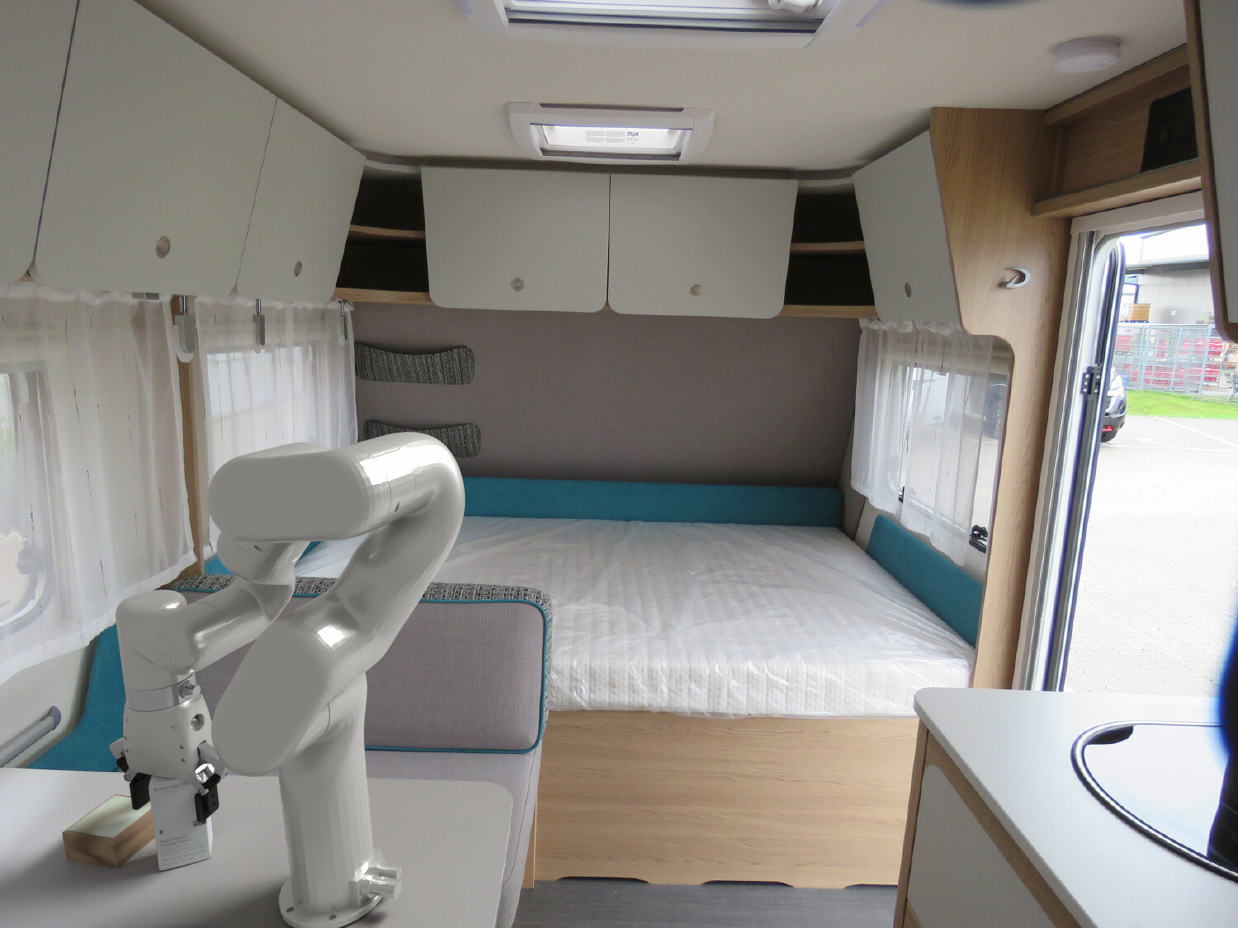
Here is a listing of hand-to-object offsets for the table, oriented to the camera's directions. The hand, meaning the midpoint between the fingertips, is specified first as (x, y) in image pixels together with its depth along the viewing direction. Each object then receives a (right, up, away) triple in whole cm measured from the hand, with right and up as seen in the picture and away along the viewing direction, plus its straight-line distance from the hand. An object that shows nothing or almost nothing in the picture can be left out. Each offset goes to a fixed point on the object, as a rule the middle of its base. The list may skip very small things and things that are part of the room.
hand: (176, 808), depth 97 cm
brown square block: (-10, -6, +3) cm, 12 cm away
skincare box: (+1, -7, +1) cm, 7 cm away
